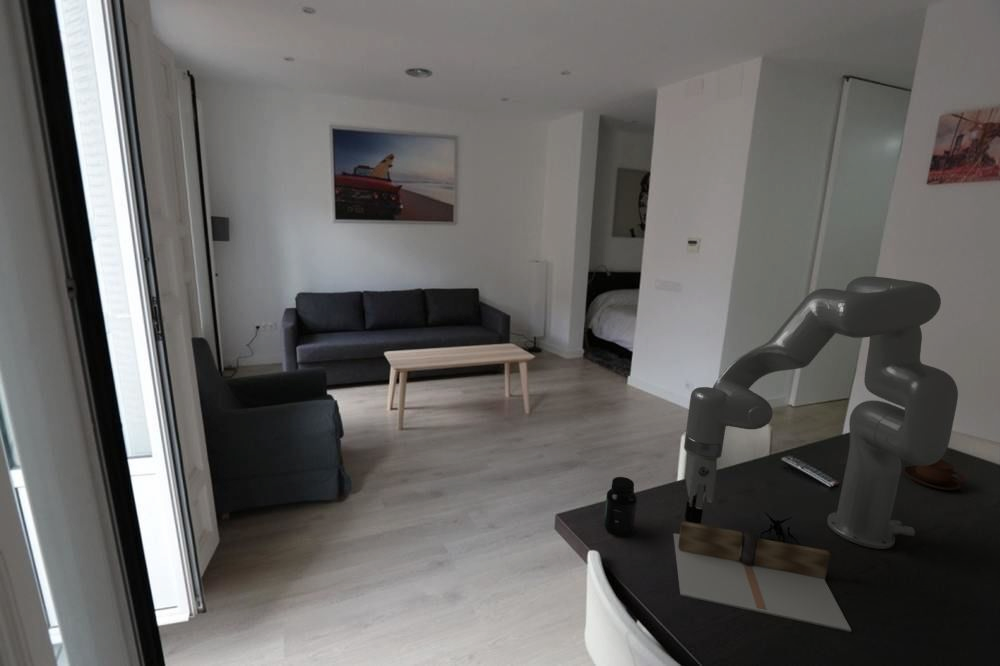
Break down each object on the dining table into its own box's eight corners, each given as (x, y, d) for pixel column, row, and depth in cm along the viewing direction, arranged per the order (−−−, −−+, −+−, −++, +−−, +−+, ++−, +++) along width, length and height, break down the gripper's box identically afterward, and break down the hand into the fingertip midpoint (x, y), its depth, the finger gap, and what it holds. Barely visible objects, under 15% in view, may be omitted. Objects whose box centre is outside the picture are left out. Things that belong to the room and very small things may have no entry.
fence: (821, 574, 96) (827, 544, 94) (825, 582, 93) (832, 552, 92) (738, 558, 100) (743, 529, 98) (740, 566, 97) (745, 536, 96)
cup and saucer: (953, 479, 134) (958, 460, 133) (965, 499, 125) (971, 478, 123) (900, 467, 141) (904, 449, 139) (907, 485, 131) (911, 465, 129)
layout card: (813, 560, 100) (814, 558, 100) (852, 632, 82) (852, 630, 82) (673, 534, 107) (673, 532, 107) (680, 595, 89) (680, 593, 89)
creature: (800, 557, 102) (793, 529, 109) (806, 540, 100) (798, 513, 107) (761, 549, 105) (756, 522, 111) (766, 532, 102) (760, 506, 109)
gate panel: (737, 556, 99) (741, 531, 98) (738, 560, 98) (742, 535, 97) (678, 545, 102) (681, 521, 101) (678, 549, 101) (681, 524, 100)
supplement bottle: (598, 529, 109) (602, 482, 106) (612, 516, 114) (616, 471, 111) (626, 542, 104) (630, 493, 102) (639, 528, 109) (643, 481, 107)
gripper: (728, 463, 93) (715, 544, 97) (716, 433, 107) (706, 505, 111) (688, 457, 95) (677, 537, 99) (681, 428, 109) (672, 499, 113)
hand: (692, 520), depth 105 cm, fingers closed
